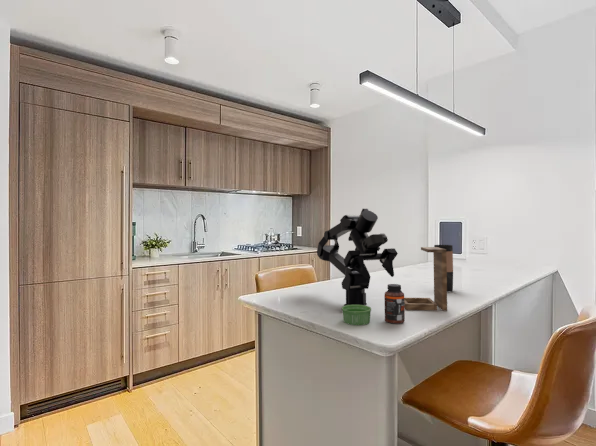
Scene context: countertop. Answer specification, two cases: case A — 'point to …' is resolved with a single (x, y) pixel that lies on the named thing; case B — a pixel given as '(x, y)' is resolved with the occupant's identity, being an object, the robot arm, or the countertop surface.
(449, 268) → the travel mug
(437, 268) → the stand
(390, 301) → the supplement bottle
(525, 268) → the countertop surface
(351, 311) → the ramekin
